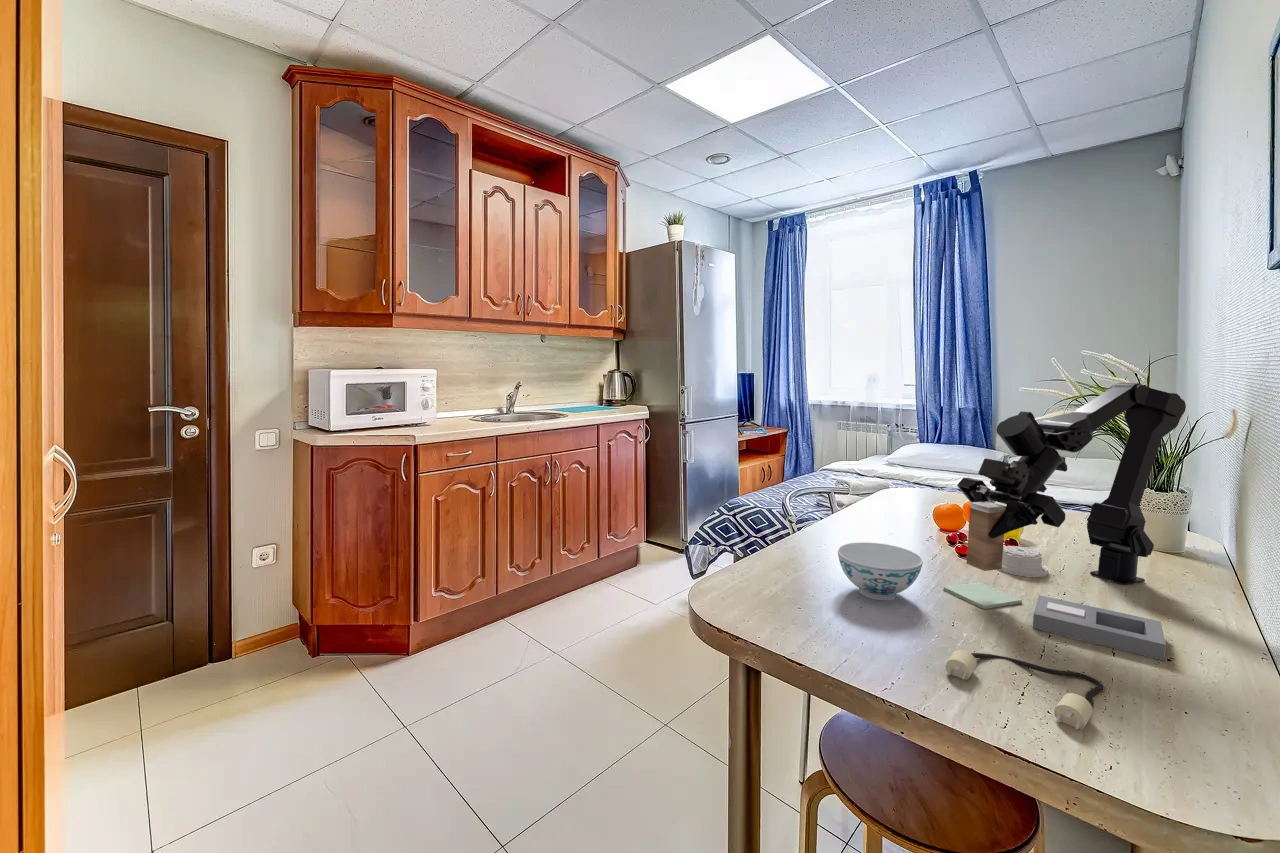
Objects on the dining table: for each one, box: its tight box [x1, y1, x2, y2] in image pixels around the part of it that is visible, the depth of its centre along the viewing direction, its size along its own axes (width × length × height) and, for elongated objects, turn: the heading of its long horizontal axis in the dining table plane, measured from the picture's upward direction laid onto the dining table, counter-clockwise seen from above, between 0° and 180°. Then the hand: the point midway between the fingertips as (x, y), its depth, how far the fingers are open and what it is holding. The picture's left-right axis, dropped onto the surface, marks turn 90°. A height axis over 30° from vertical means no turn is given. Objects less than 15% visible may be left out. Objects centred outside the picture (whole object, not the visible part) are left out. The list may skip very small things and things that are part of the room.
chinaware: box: [837, 541, 924, 601], centre depth 106 cm, size 15×15×8 cm
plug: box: [966, 501, 1006, 572], centre depth 103 cm, size 4×4×12 cm
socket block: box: [1032, 594, 1167, 662], centre depth 90 cm, size 10×16×3 cm, turn 50°
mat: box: [942, 581, 1023, 610], centre depth 104 cm, size 9×9×1 cm
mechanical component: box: [998, 545, 1049, 578], centre depth 119 cm, size 10×4×10 cm
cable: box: [945, 649, 1105, 731], centre depth 76 cm, size 16×16×4 cm
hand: (980, 533), depth 103 cm, fingers closed on plug, 4 cm apart
